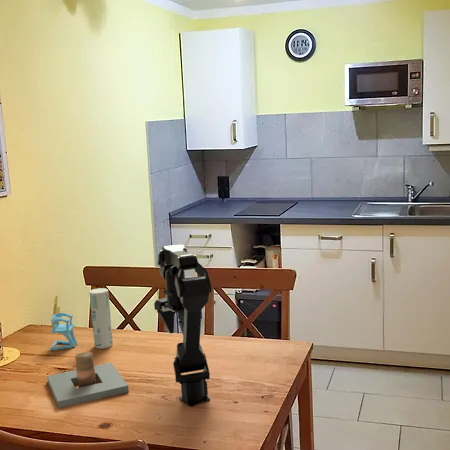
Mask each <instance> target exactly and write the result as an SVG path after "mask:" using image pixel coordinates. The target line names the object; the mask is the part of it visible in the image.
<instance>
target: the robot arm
mask: <svg viewBox="0 0 450 450" xmlns="http://www.w3.org/2000/svg"><path fill="white" fill-rule="evenodd" d="M187 249H188V248H187V247H186V246H185V245H184V244H183V243H179V244H169V245H162V246H161V249H160V250H159V253H158V255H157V260H156V261H157V266H159V274H160V275H161V278H163V279H164V281H165V288H166V289H164V290H163V294H164V295H166V297H163V298H159V299H156V300H155V302H154V303H153V306H154V310H155V311H156V312H157V314H158V316H159V317H160V318H161V320H162V322H163V324H164V325H165V328H166V329H167V331H168V332H169V334H174V332H175V314H176V313H177V318H178V321H177V323H178V325H179V327H180V330H181V333H182V342H179V343H177V344H176V355H175V357H174V360H173V363H172V364H173V370H174V375H175V376H174V377H175V382H176V383H179V385H180V389H181V390H180V391H181V395H180V396H179V397H178V399H179V400H180V401H182V402H183V404H186V405H188V406H189V407H194V406H196V405H199V404H202V403H205V402H208V401H210V400H211V397H209V396H208V395H209V392H208V391H209V390H208V382H207V380H210V374H211V373H210V370H209V366H208V359H207V357H206V353H205V352H204V351H203V347H202V345H201V342H200V341H201V330H202V329H201V326H202V319H203V308H204V307H206V305H208V303H209V300H210V294H211V293H212V284H211V280H210V276H209V273H208V270H207V269H206V268H205V267H203V266H202V265H201V264H200V263H199V261H198V258H197V255H196V254H193V253H189V252H188V250H187ZM189 270H194V272H195V273H197V275H199V276H194V277H192V276H191V277H186V274H185V271H189ZM191 372H192V373H191Z"/></svg>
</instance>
